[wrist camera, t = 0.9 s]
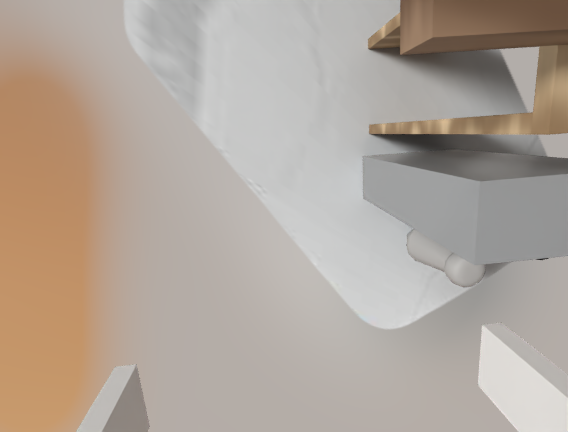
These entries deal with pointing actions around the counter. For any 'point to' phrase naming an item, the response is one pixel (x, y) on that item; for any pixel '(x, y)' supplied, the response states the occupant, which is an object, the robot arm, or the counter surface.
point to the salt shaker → (443, 260)
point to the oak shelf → (544, 120)
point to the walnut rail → (481, 25)
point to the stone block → (476, 201)
